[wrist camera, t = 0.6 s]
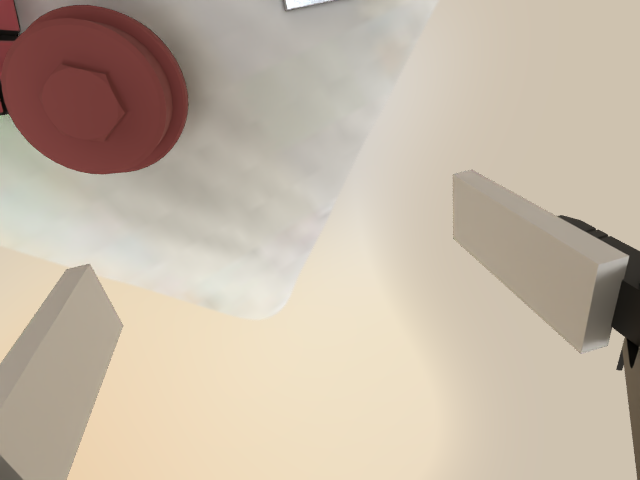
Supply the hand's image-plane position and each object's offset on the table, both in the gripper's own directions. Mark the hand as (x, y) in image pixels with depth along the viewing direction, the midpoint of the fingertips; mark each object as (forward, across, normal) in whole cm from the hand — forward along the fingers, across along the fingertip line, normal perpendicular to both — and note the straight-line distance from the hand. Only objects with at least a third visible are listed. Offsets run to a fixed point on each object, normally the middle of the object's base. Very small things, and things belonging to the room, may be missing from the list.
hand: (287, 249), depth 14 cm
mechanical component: (+24, -9, +5) cm, 26 cm away
